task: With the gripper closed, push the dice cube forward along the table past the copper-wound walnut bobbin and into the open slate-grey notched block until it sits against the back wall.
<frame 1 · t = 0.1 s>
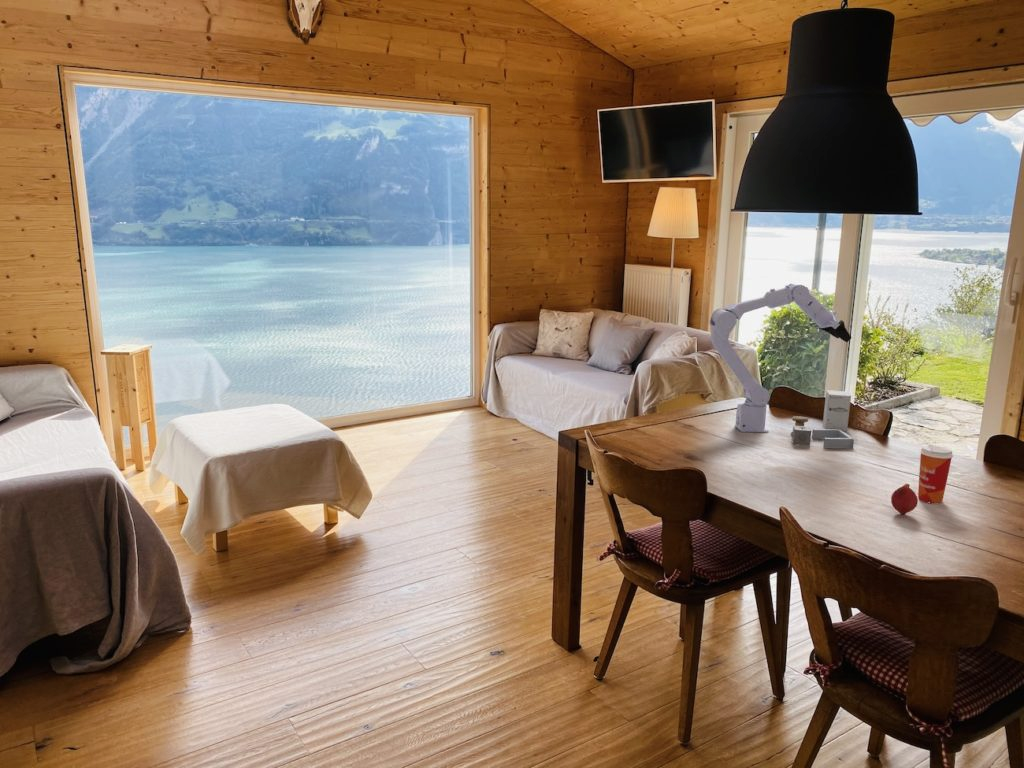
hand: (844, 338, 256), 32 cm above the table, tool tilted 50°, fingers open, 7 cm apart
paper cup: (930, 500, 200), on the table
dice cube: (800, 443, 249), on the table
onion: (902, 515, 191), on the table
notch block: (832, 442, 249), on the table
bobbin: (798, 435, 257), on the table
supplement box: (834, 428, 267), on the table
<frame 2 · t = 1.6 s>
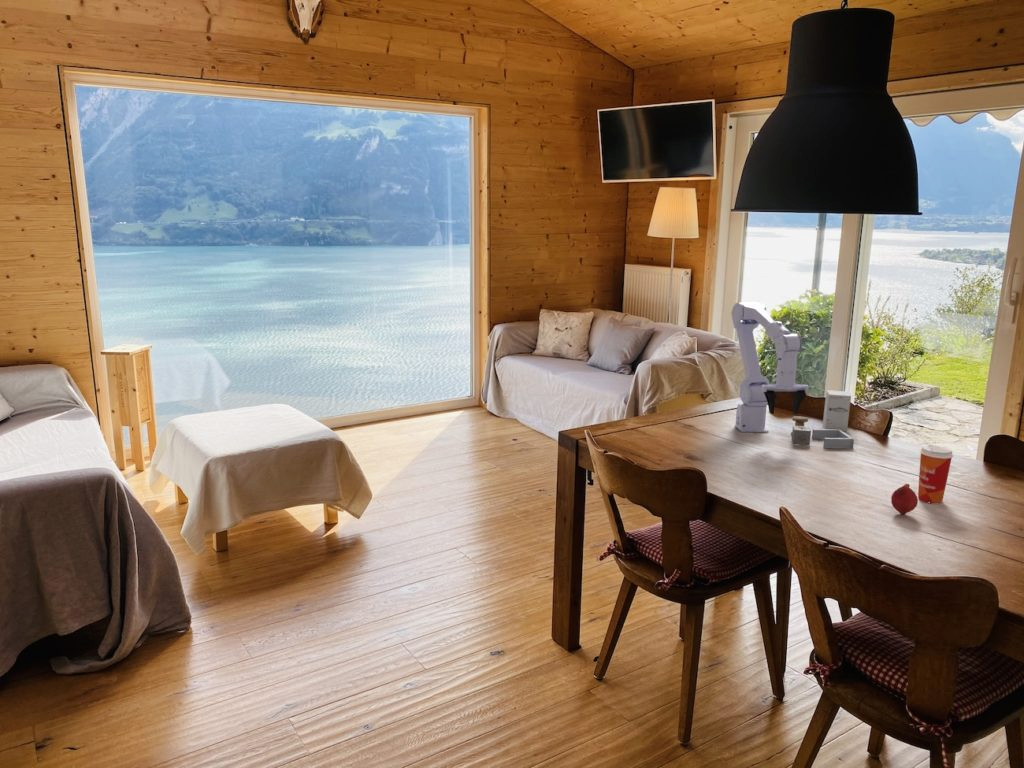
hand: (783, 413, 247), 10 cm above the table, tool pointing down, fingers open, 7 cm apart
nothing on the table moved.
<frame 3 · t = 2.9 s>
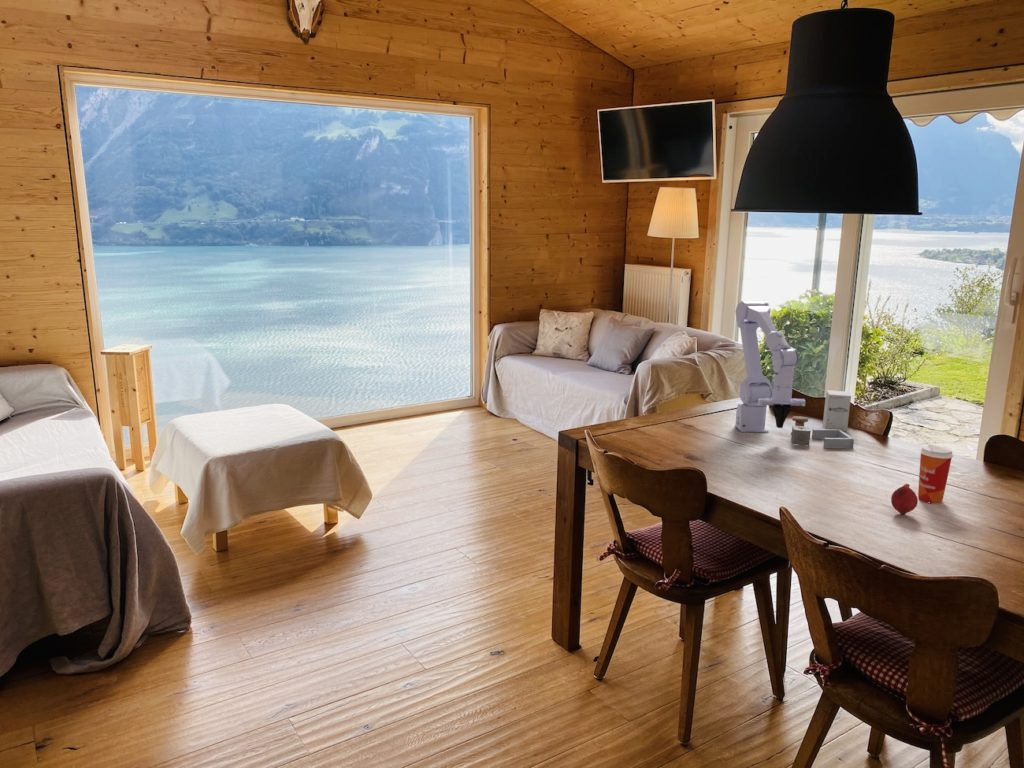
hand: (779, 427, 248), 5 cm above the table, tool pointing down, fingers closed
nothing on the table moved.
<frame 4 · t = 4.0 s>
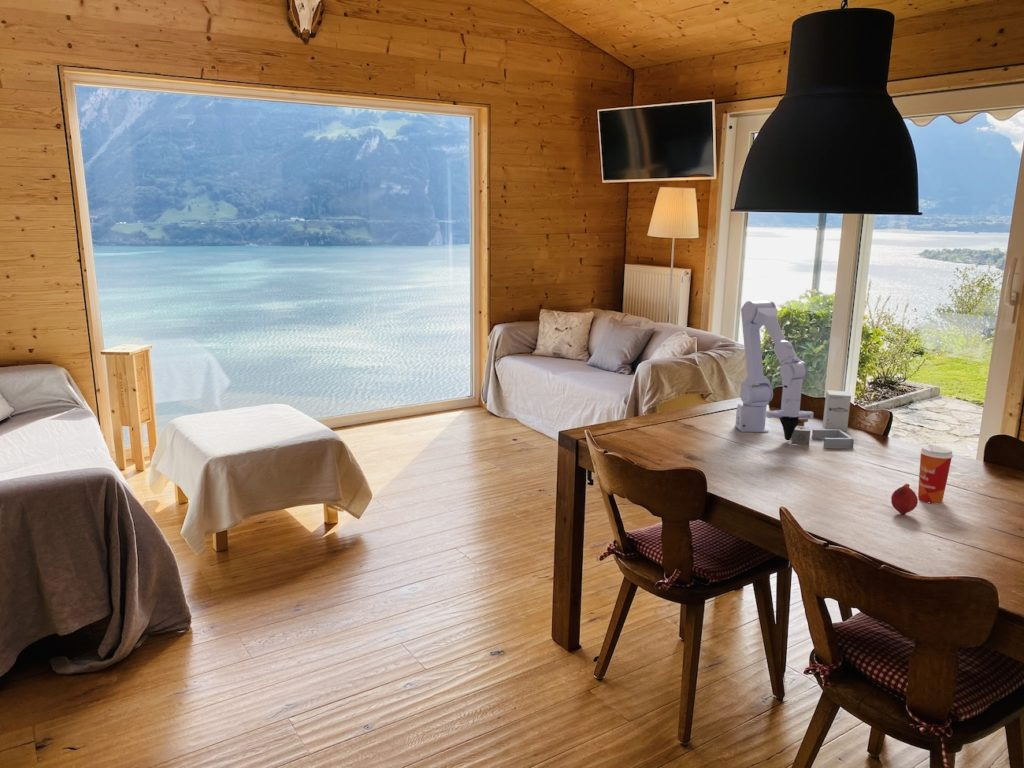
hand: (787, 439, 249), 1 cm above the table, tool pointing down, fingers closed
dice cube: (799, 443, 249), on the table, touching gripper
everything else where it was.
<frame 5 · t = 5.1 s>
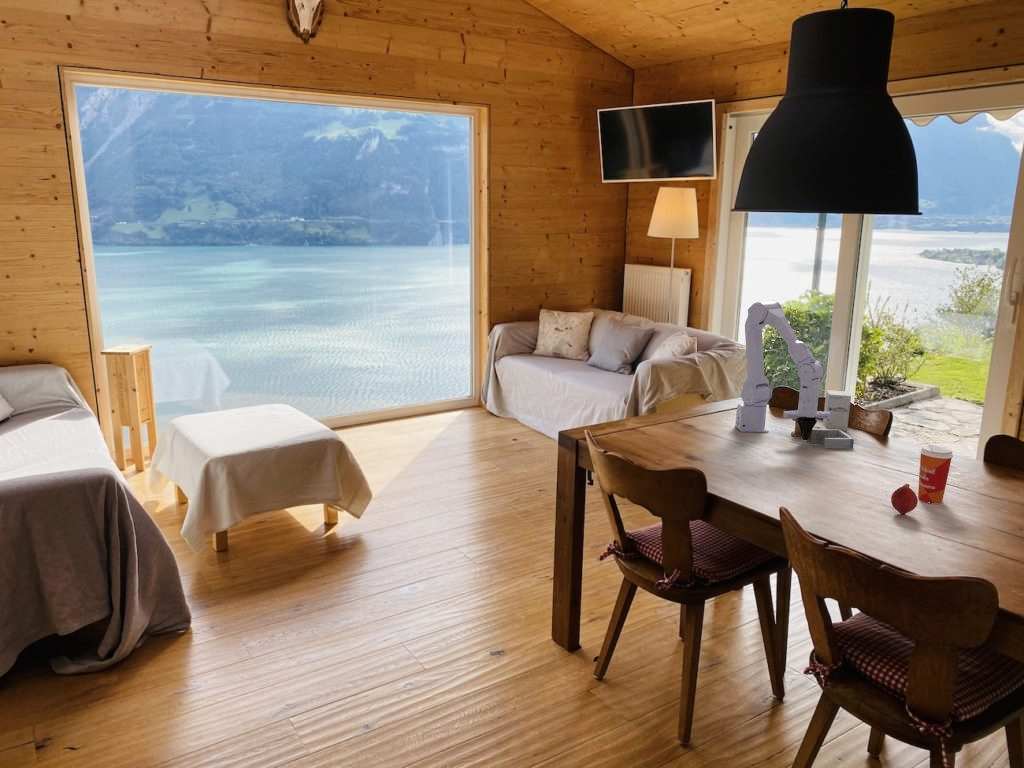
hand: (804, 439, 249), 1 cm above the table, tool pointing down, fingers closed
dice cube: (816, 443, 249), on the table, touching gripper
everything else where it was.
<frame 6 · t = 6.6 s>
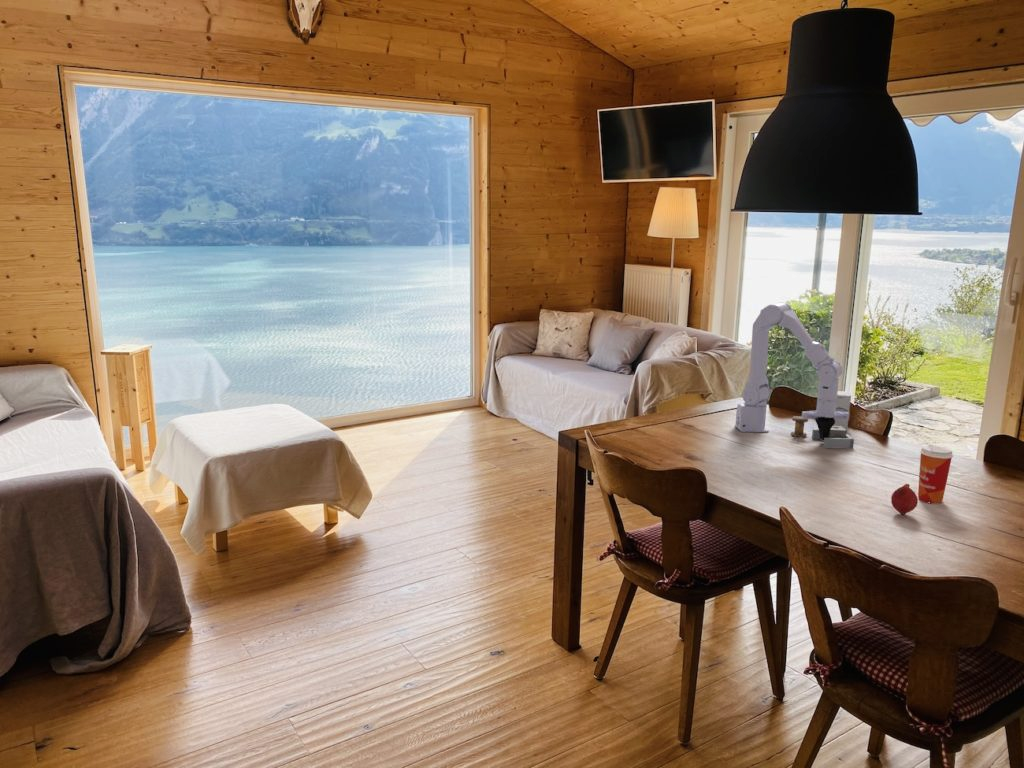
hand: (822, 439, 249), 1 cm above the table, tool pointing down, fingers closed
dice cube: (834, 443, 249), on the table, touching gripper, notch block
everything else where it was.
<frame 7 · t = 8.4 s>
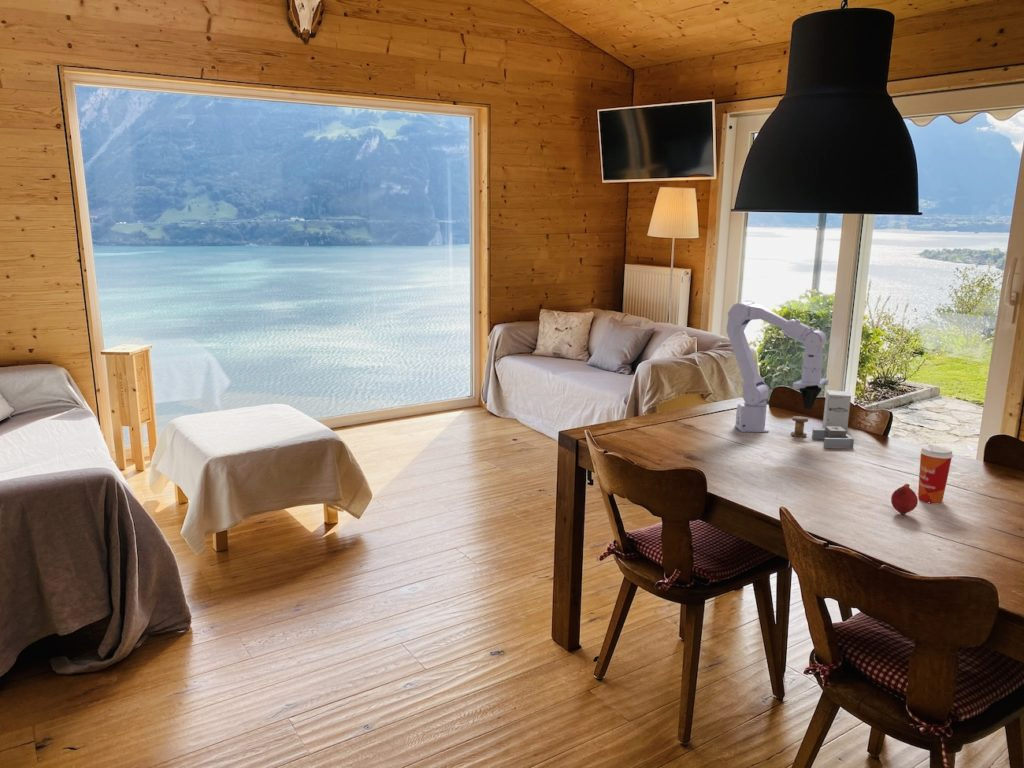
hand: (808, 408, 251), 10 cm above the table, tool pointing down, fingers closed
dice cube: (834, 443, 249), on the table
everything else where it was.
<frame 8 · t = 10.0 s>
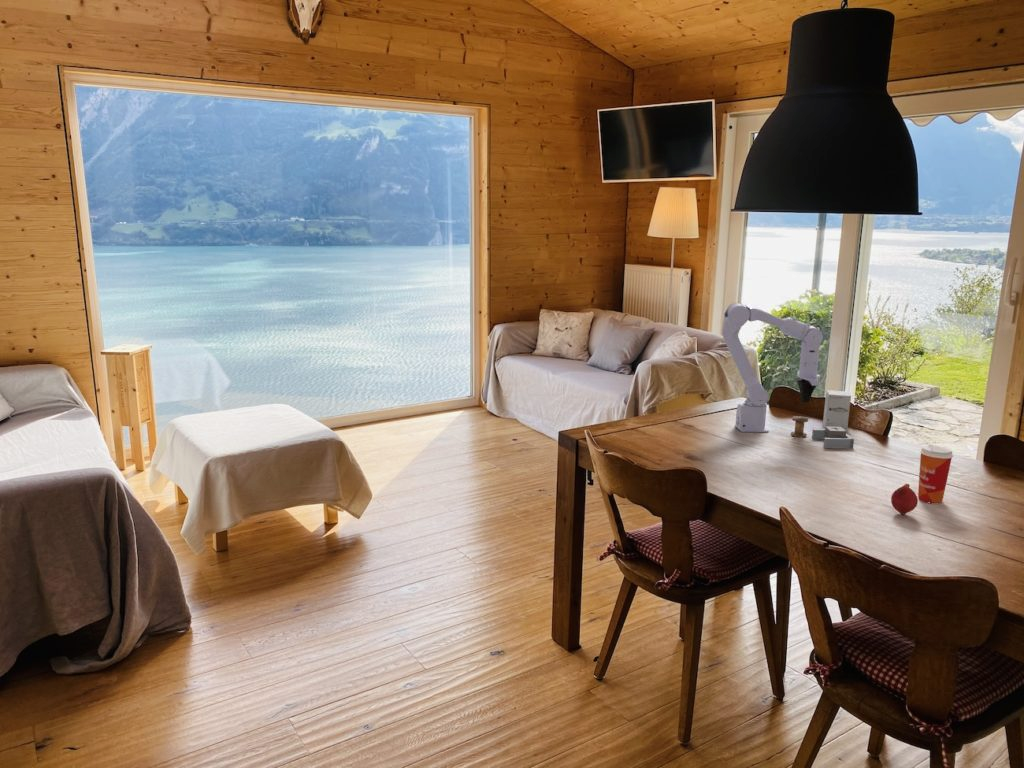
hand: (805, 401, 260), 10 cm above the table, tool pointing down, fingers closed
nothing on the table moved.
at the end: dice cube inside the target area on the notch block (1.1 cm from its centre), point 0.0 cm above the notch block's base; the gripper is holding nothing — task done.
